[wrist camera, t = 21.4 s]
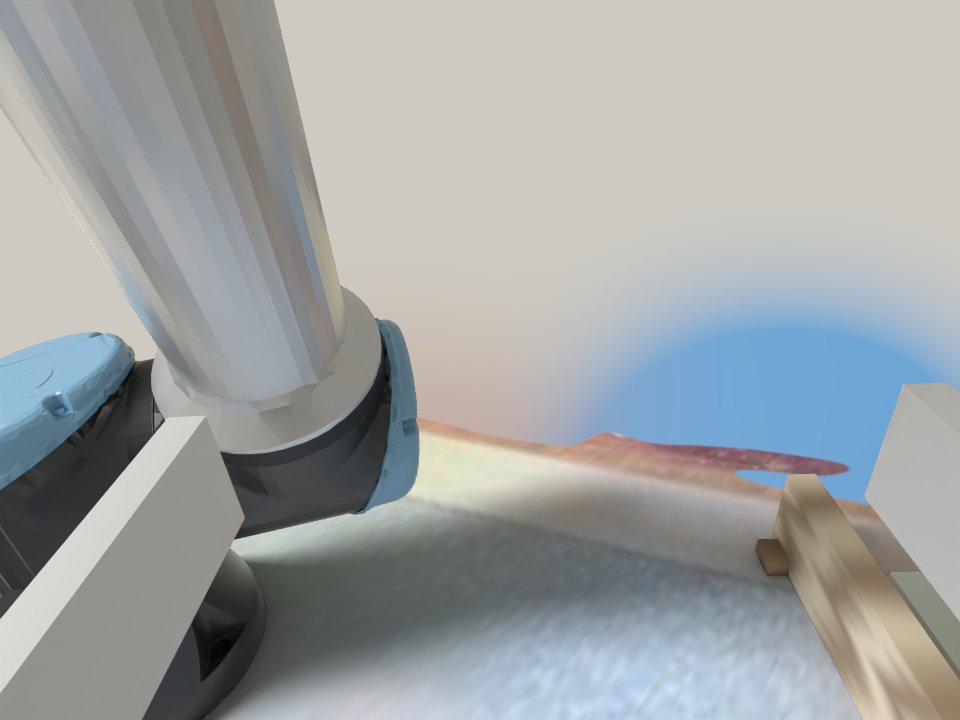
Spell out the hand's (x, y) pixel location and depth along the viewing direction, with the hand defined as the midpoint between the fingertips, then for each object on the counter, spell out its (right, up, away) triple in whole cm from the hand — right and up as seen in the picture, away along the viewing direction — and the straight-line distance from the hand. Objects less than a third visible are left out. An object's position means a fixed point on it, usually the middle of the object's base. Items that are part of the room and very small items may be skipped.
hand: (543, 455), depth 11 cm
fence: (+23, -17, +27) cm, 39 cm away
